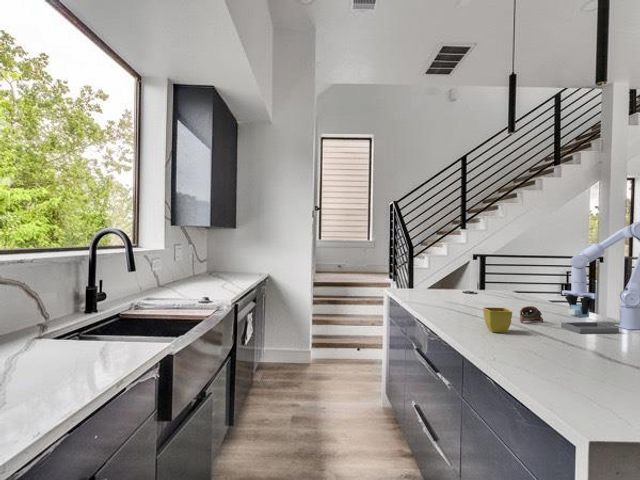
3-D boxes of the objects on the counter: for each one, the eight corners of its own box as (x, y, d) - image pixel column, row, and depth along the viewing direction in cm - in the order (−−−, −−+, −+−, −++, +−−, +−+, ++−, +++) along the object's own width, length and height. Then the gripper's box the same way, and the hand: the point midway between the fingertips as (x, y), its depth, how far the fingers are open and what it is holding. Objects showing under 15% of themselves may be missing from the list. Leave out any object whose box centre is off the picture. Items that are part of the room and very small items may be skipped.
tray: (597, 326, 170) (597, 321, 170) (618, 333, 158) (618, 328, 158) (561, 327, 169) (561, 322, 169) (580, 333, 158) (580, 328, 158)
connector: (581, 315, 181) (581, 304, 181) (591, 316, 177) (591, 305, 177) (566, 316, 177) (566, 305, 177) (576, 318, 173) (576, 306, 173)
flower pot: (504, 329, 166) (504, 307, 166) (512, 334, 157) (512, 311, 157) (482, 328, 167) (482, 307, 167) (489, 333, 158) (489, 310, 158)
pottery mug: (550, 325, 175) (544, 310, 173) (530, 335, 175) (525, 319, 173) (532, 313, 187) (527, 299, 184) (514, 322, 187) (509, 308, 185)
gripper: (557, 281, 182) (557, 311, 182) (589, 284, 169) (589, 316, 169) (567, 280, 185) (568, 310, 185) (600, 283, 171) (600, 315, 171)
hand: (579, 313), depth 177 cm, fingers closed on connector, 4 cm apart
